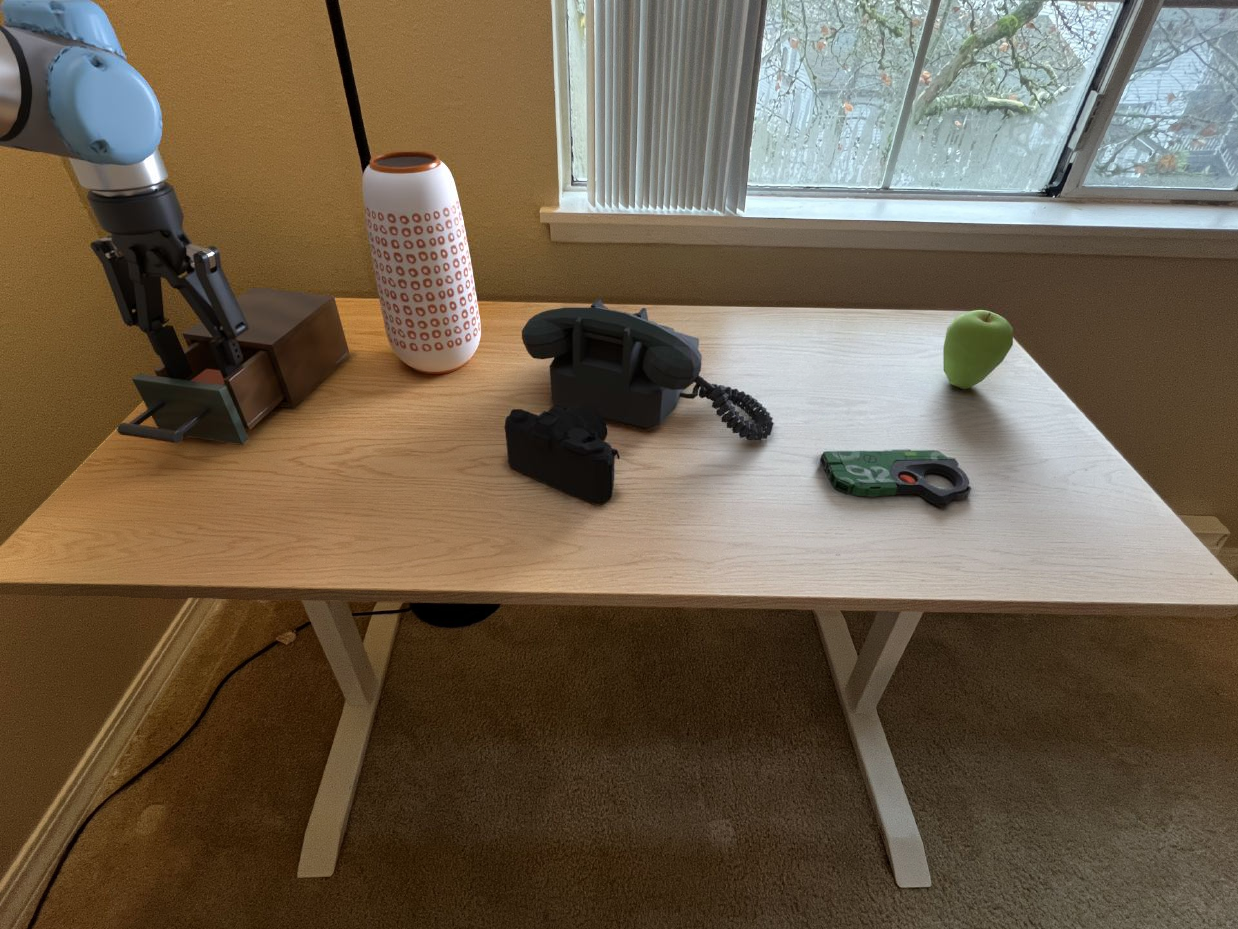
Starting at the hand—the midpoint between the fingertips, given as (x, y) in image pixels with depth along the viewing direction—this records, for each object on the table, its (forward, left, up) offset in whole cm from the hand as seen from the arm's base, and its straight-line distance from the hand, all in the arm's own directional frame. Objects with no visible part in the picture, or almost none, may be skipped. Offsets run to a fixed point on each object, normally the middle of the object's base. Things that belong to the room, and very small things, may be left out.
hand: (210, 381), depth 79 cm
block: (0, 0, -4) cm, 4 cm away
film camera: (+35, -29, -6) cm, 46 cm away
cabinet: (+8, +9, -6) cm, 14 cm away
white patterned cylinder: (+29, +3, -6) cm, 30 cm away
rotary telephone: (+53, -20, -6) cm, 57 cm away
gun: (+68, -50, -6) cm, 85 cm away
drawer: (-1, -1, -5) cm, 5 cm away
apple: (+94, -39, -6) cm, 102 cm away
